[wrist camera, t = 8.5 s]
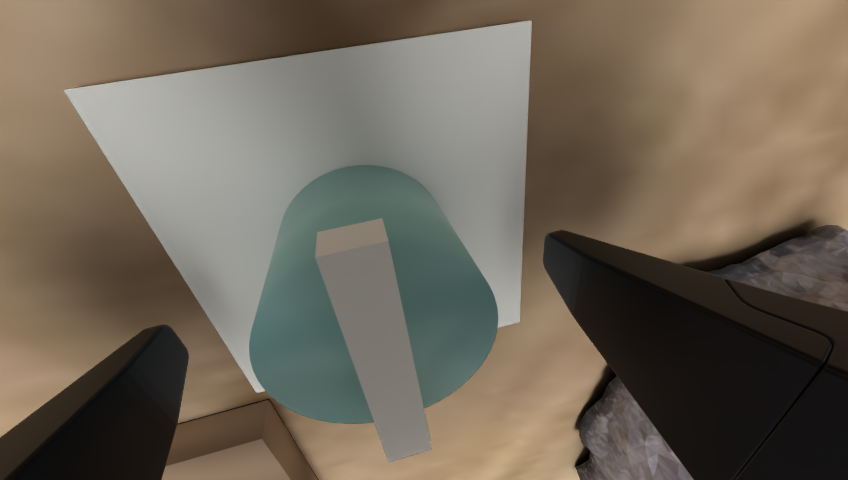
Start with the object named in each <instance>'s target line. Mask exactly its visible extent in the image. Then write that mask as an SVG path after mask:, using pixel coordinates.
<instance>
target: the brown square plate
mask: <svg viewBox="0 0 848 480" xmlns="http://www.w3.org/2000/svg"><path fill="white" fill-rule="evenodd" d="M162 480H318V479H317V477H316V476H315V474H314V473H313V471H312V469H311V468H310V466H309V464H308V463H307V461H306V460H305V458H304V456H303V455H302V453H301V451H300V450H299V448H298V447H297V445H296V443H295V442H294V440H293V438H292V437H291V435H290V434H289V432H288V430H287V429H286V427H285V426H284V424H283V422H282V421H281V419H280V417H279V416H278V414H277V413H276V411H275V409H274V408H273V406H272V404H271V403H270V401H269V400H266V401H262V402H259V403H255V404H251V405H248V406H244V407H240V408H237V409H233V410H229V411H226V412H222V413H218V414H215V415H211V416H208V417H204V418H200V419H197V420H193V421H189V422H186V423H182V424H178V425H177V427H176V431H175V435H174V438H173V442H172V445H171V449H170V452H169V456H168V459H167V463H166V466H165V470H164V473H163V477H162Z"/></svg>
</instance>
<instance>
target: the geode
mask: <svg viewBox="0 0 848 480" xmlns="http://www.w3.org/2000/svg"><path fill="white" fill-rule="evenodd" d="M707 273H710V274H714V275H717V276H720V277H722V278H723V279H731V280H734V281H737V282H741V283H744V284H748V285H751V286H755V287H758V288H762V289H765V290H769V291H772V292H776V293H779V294H783V295H787V296H791V297H794V298H798V299H802V300H806V301H810V302H814V303H818V304H822V305H825V306H830V307H834V308H838V309H842V310H846V311H848V231H847V230H845V229H843V228H841V227H839V226H834V225H826V226H822V227H819V228H817V229H815V230H813V231H811V232H809V233H808V235H805V236H801V237H796V238H794V239H791V240H789V241H786V242H784V243H782V244H779V245H777V246H776V247H774V248H772V249H769V250H767V251H764V252H762V253H759V254H757V255H755V256H753V257H752V258H750V259H748V260H746V261H744V262H742V263H740V264H732V265H728V266H726V267H724V268H722V269H719V270H713V271H708V272H707ZM580 439H581V442H582V443H583V444H584V445H585V446H586V447H587V448H588V449H589V450H590V456H589V460H587V461H586V462H584V463H583V464H581V465H578V466H575V467H576V470H577V472H578V475H579V477H580V480H693V478H692V477H691V476H690V474H689V473H688V472H687V470H686V469H685V467H684V466H683V465H682V463H681V462H680V461H679V459H678V458H677V457H676V455H675V454H674V453H673V451H672V450H671V449H670V447H669V446H668V444H667V443H666V442H665V440H664V439H663V438H662V436H661V435H660V434H659V432H658V431H657V430H656V428H655V427H654V425H653V424H652V423H651V421H650V420H649V419H648V417H647V416H646V415H645V413H644V412H643V411H642V409H641V408H640V407H639V405H638V404H637V402H636V401H635V400H634V398H633V397H632V396H631V394H630V393H629V392H628V390H627V389H626V388H625V386H624V385H623V384H622V382H621V381H620V379H619V378H618V377H617V376H616V377H615V378H614V379H613V380H612V381H610V382H609V384H608V386H607V388H606V390H605V392H604V394H603V396H602V398H601V399H600V400H599V401H597V402H596V403H595V404H594V405H593V406H592V407H591V408H590V409H588V410H587V411H586V413H585V415H584V417H583V418H582V420H581V422H580Z"/></svg>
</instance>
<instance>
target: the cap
mask: <svg viewBox="0 0 848 480" xmlns="http://www.w3.org/2000/svg"><path fill="white" fill-rule="evenodd" d="M497 328H498V308H497V303H496V300H495V296H494V294H493V292H492V290H491V288H490V286H489V284H488V282H487V281H486V279H485V278H484V276H483V275H482V273H481V271H480V270H479V268H478V267H477V265H476V263H475V262H474V260H473V259H472V257H471V256H470V254H469V252H468V251H467V249H466V248H465V246H464V244H463V243H462V241H461V240H460V238H459V237H458V235H457V233H456V232H455V230H454V229H453V227H452V225H451V224H450V222H449V221H448V219H447V218H446V216H445V214H444V213H443V211H442V210H441V208H440V206H439V205H438V203H437V202H436V200H435V199H434V197H433V196H432V195H431V193H430V192H429V191H428V190H427V189H426V188H425V187H424V186H423V185H422V184H420V183H419V182H418V181H417V180H415V179H414V178H412V177H410V176H408V175H407V174H405V173H402V172H400V171H397V170H395V169H391V168H387V167H383V166H374V165H357V166H349V167H344V168H340V169H337V170H334V171H331V172H329V173H326V174H324V175H322V176H320V177H318V178H317V179H315V180H313V181H312V182H311V183H309V184H308V185H307V186H305V187H304V188H303V189H302V190H301V191H300V192H299V193H298V194H297V195H296V196H295V197H294V199H293V200H292V202H291V203H290V204H289V206H288V208H287V210H286V212H285V214H284V216H283V219H282V222H281V225H280V229H279V232H278V236H277V240H276V243H275V247H274V250H273V254H272V258H271V261H270V265H269V268H268V272H267V276H266V279H265V283H264V286H263V290H262V294H261V297H260V301H259V304H258V308H257V312H256V315H255V319H254V322H253V326H252V330H251V334H250V341H249V357H250V362H251V366H252V369H253V372H254V374H255V376H256V378H257V380H258V382H259V383H260V384H261V386H262V387H263V388H264V390H265V391H266V392H267V393H268V394H269V395H270V396H271V397H272V398H273V399H274V400H276V401H277V402H279V403H280V404H281V405H283V406H284V407H286V408H288V409H290V410H292V411H294V412H296V413H298V414H301V415H303V416H306V417H309V418H313V419H317V420H320V421H326V422H333V423H344V424H363V423H373V422H374V423H375V426H376V428H377V431H378V434H379V437H380V440H381V442H382V445H383V448H384V451H385V454H386V456H387V459H388V462H393V461H396V460H399V459H402V458H405V457H409V456H412V455H415V454H418V453H422V452H425V451H428V450H431V449H432V445H431V440H430V436H429V431H428V426H427V421H426V417H425V412H424V408H427V407H429V406H431V405H433V404H435V403H436V402H438V401H440V400H442V399H443V398H445V397H447V396H448V395H450V394H451V393H453V392H454V391H455V390H457V389H458V388H459V387H461V386H462V385H463V384H464V383H465V382H466V381H467V380H468V379H469V378H470V377H471V376H472V375H473V374H474V373H475V372H476V371H477V370H478V369H479V367H480V366H481V364H482V363H483V362H484V360H485V359H486V357H487V355H488V353H489V352H490V350H491V348H492V345H493V343H494V340H495V337H496V333H497Z"/></svg>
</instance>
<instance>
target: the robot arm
mask: <svg viewBox="0 0 848 480" xmlns="http://www.w3.org/2000/svg"><path fill="white" fill-rule="evenodd" d="M543 263H544V267H545V269H546V271H547V273H548V274H549V276H550V278H551V280H552V281H553V283H554V285H555V286H556V288H557V290H558V292H559V293H560V295H561V297H562V299H563V300H564V302H565V304H566V305H567V307H568V309H569V310H570V312H571V314H572V315H573V317H574V318H575V320H576V321H577V322H578V324H579V325H580V327H581V328H582V329H583V331H584V332H585V333H586V335H587V336H588V337H589V339H590V340H591V342H592V343H593V344H594V346H595V347H596V348H597V350H598V351H599V352H600V354H601V355H602V356H603V358H604V359H605V360H606V362H607V363H608V365H609V366H610V367H611V369H612V370H613V371H614V373H615V374H616V375H617V377H618V378H619V379H620V381H621V382H622V384H623V385H624V386H625V388H626V389H627V390H628V392H629V393H630V394H631V396H632V397H633V398H634V400H635V401H636V402H637V404H638V405H639V407H640V408H641V409H642V411H643V412H644V413H645V415H646V416H647V417H648V419H649V420H650V421H651V423H652V424H653V425H654V427H655V428H656V430H657V431H658V432H659V434H660V435H661V436H662V438H663V439H664V440H665V442H666V443H667V444H668V446H669V447H670V449H671V450H672V451H673V453H674V454H675V455H676V457H677V458H678V459H679V461H680V462H681V463H682V465H683V466H684V467H685V469H686V470H687V472H688V473H689V474H690V476H691V477H692V478H693V480H848V311H846V310H842V309H838V308H834V307H830V306H825V305H822V304H818V303H814V302H810V301H806V300H802V299H798V298H794V297H791V296H787V295H783V294H779V293H776V292H772V291H769V290H765V289H762V288H758V287H755V286H751V285H748V284H744V283H741V282H737V281H734V280H731V279H723V278H722V277H720V276H717V275H714V274H710V273H707V272H703V271H700V270H697V269H693V268H690V267H686V266H683V265H680V264H676V263H673V262H669V261H666V260H663V259H659V258H656V257H652V256H649V255H646V254H642V253H639V252H636V251H632V250H629V249H625V248H622V247H619V246H615V245H612V244H608V243H605V242H602V241H598V240H595V239H592V238H588V237H585V236H581V235H578V234H575V233H571V232H568V231H564V230H559V231H555V232H551V233H548V234H547V235H546V237H545V242H544V255H543ZM188 359H189V355H188V351H187V349H186V347H185V345H184V344H183V343H182V341H181V340H180V339H179V337H178V336H177V335H176V333H175V332H174V331H173V329H172V328H171V327H170V326H168V325H159V326H155V327H151V328H147V329H144V330H143V331H141V332H140V333H139V334H137V335H136V336H135V337H133V338H132V339H131V340H129V341H128V342H127V343H125V344H124V345H123V346H121V347H120V348H119V349H117V350H116V351H115V352H113V353H112V354H111V355H109V356H108V357H107V358H105V359H104V360H103V361H101V362H100V363H99V364H97V365H96V366H95V367H93V368H92V369H91V370H89V371H88V372H87V373H85V374H84V375H83V376H81V377H80V378H79V379H77V380H76V381H75V382H73V383H72V384H71V385H69V386H68V387H67V388H65V389H64V390H63V391H61V392H60V393H59V394H57V395H56V396H55V397H53V398H52V399H51V400H50V401H48V402H47V403H46V404H44V405H43V406H42V407H40V408H39V409H38V410H36V411H35V412H34V413H32V414H31V415H30V416H28V417H27V418H26V419H24V420H23V421H22V422H20V423H19V424H18V425H16V426H15V427H14V428H12V429H11V430H10V431H8V432H7V433H6V434H4V435H3V436H2V437H0V480H162V477H163V473H164V470H165V466H166V463H167V459H168V456H169V452H170V449H171V445H172V442H173V438H174V435H175V431H176V427H177V422H178V417H179V412H180V407H181V401H182V395H183V389H184V383H185V377H186V372H187V366H188Z"/></svg>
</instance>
